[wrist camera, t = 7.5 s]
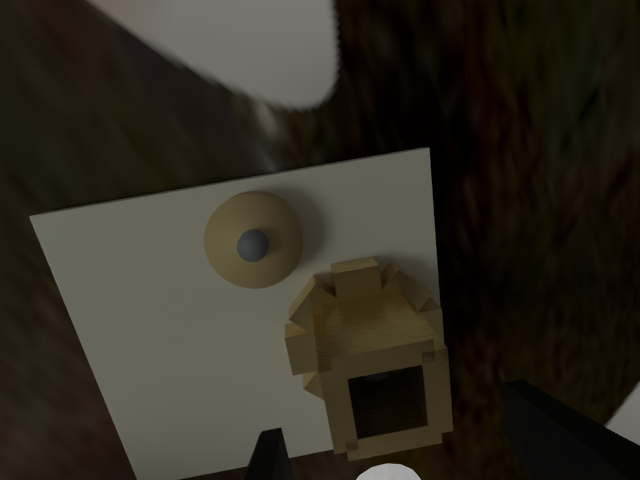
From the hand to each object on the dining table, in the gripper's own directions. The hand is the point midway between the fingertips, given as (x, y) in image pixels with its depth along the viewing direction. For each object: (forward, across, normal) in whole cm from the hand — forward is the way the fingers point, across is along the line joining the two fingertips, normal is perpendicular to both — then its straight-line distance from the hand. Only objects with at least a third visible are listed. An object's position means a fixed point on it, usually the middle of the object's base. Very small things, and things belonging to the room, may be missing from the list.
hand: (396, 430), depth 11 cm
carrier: (+7, +4, -1) cm, 8 cm away
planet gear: (+6, 0, 0) cm, 6 cm away
